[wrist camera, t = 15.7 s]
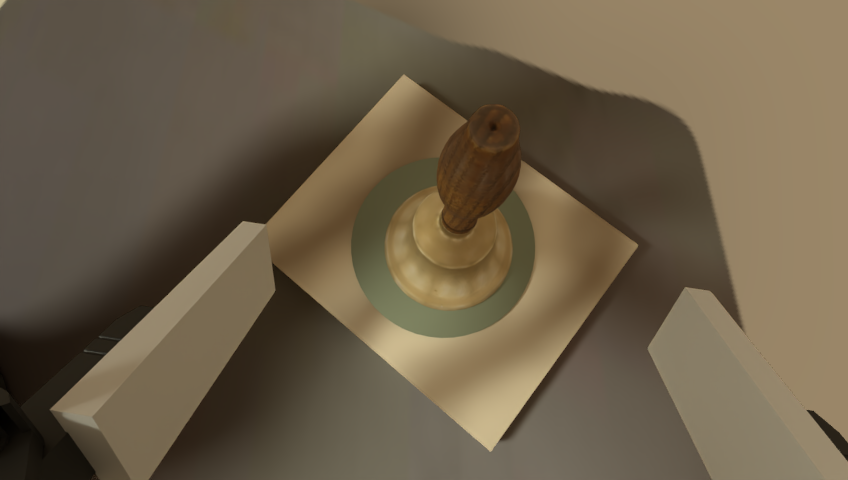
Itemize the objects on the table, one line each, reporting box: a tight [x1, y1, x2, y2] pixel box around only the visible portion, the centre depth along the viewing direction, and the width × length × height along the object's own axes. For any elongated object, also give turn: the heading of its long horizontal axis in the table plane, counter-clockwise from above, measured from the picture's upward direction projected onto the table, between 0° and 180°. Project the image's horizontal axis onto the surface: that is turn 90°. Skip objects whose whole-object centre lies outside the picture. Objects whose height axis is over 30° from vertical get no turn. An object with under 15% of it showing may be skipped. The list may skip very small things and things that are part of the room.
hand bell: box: [385, 104, 521, 311], centre depth 17 cm, size 8×8×16 cm
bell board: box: [266, 75, 638, 452], centre depth 26 cm, size 20×16×2 cm
